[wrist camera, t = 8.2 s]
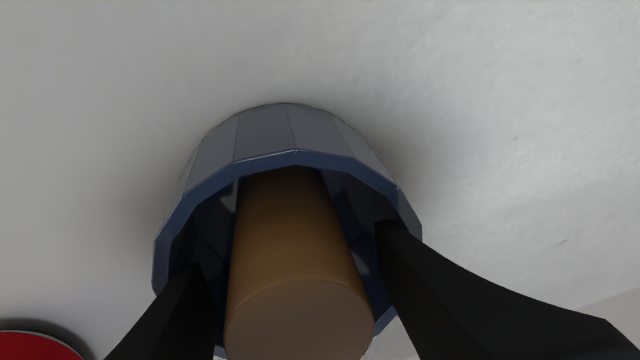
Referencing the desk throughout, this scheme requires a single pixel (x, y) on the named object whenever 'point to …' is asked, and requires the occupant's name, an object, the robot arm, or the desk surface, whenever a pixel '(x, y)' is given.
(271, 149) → the cup
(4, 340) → the beverage can
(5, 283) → the desk surface
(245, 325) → the brown cylinder
